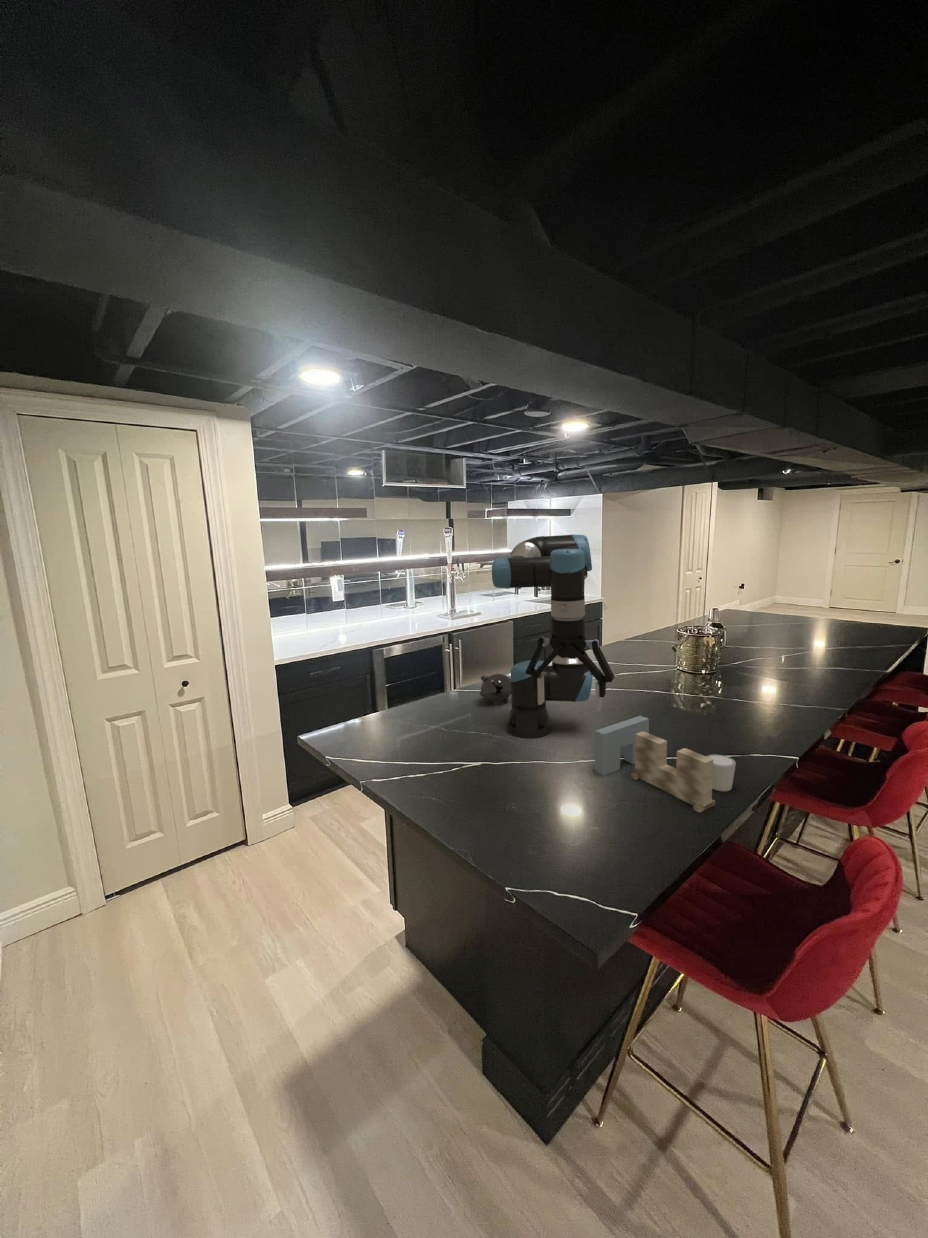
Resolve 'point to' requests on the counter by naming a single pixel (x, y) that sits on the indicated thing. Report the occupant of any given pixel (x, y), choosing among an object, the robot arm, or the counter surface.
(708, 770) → the slotted stand
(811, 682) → the counter surface
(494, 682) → the grey teddy bear
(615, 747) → the slotted plate
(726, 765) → the white cylinder
